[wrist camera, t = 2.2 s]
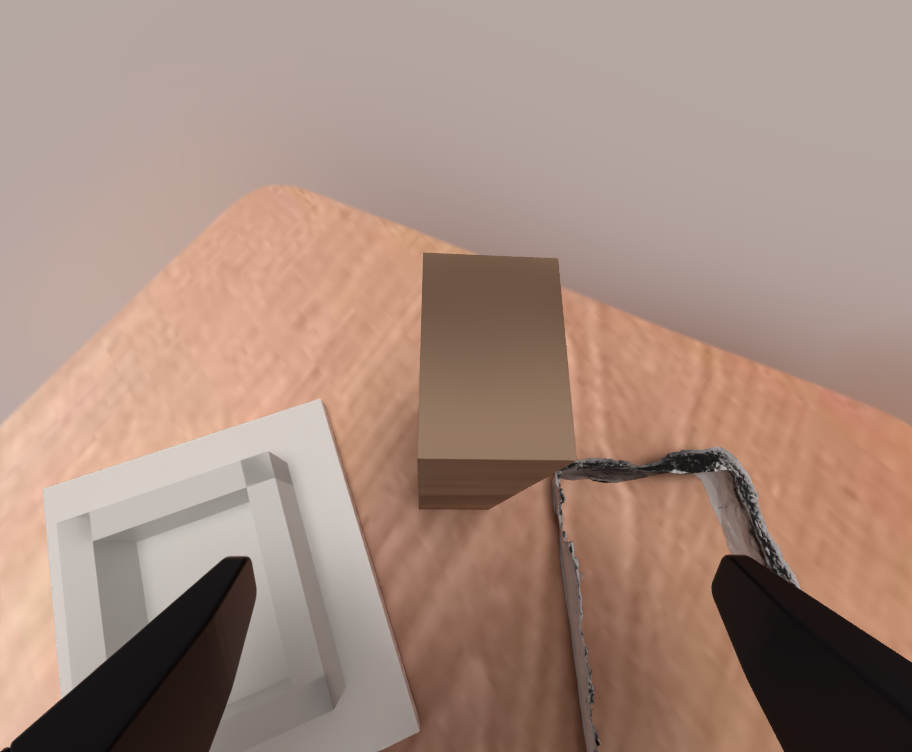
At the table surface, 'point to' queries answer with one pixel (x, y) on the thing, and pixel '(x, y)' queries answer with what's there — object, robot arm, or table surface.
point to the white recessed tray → (275, 569)
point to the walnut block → (491, 379)
